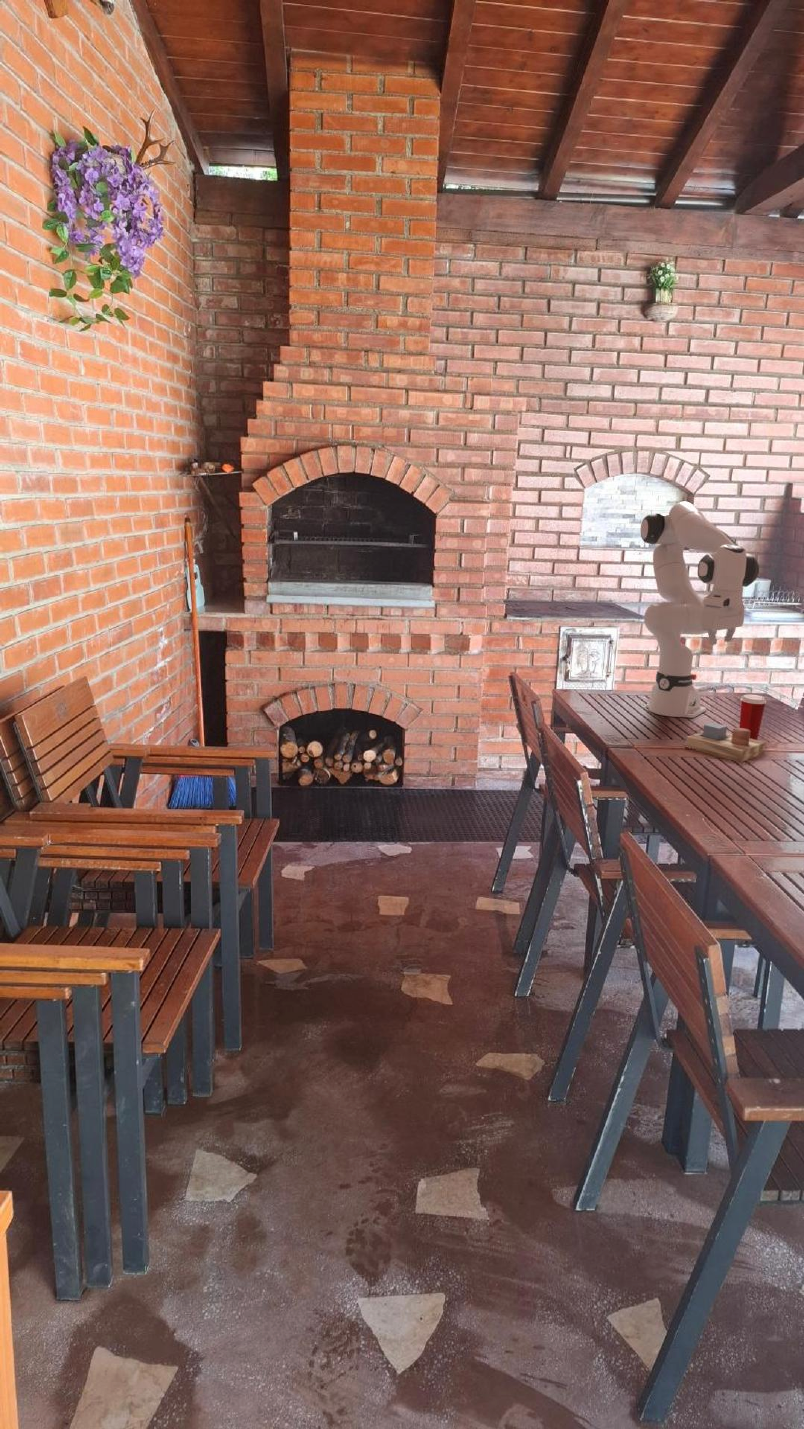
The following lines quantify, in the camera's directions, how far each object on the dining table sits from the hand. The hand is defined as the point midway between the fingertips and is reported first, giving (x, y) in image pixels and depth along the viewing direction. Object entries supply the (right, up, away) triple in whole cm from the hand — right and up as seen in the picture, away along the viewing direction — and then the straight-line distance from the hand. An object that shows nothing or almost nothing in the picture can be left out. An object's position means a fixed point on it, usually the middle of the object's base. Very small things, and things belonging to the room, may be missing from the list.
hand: (720, 643), depth 284 cm
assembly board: (0, -33, -4) cm, 33 cm away
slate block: (-3, -31, -1) cm, 32 cm away
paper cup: (+12, -30, +10) cm, 34 cm away
